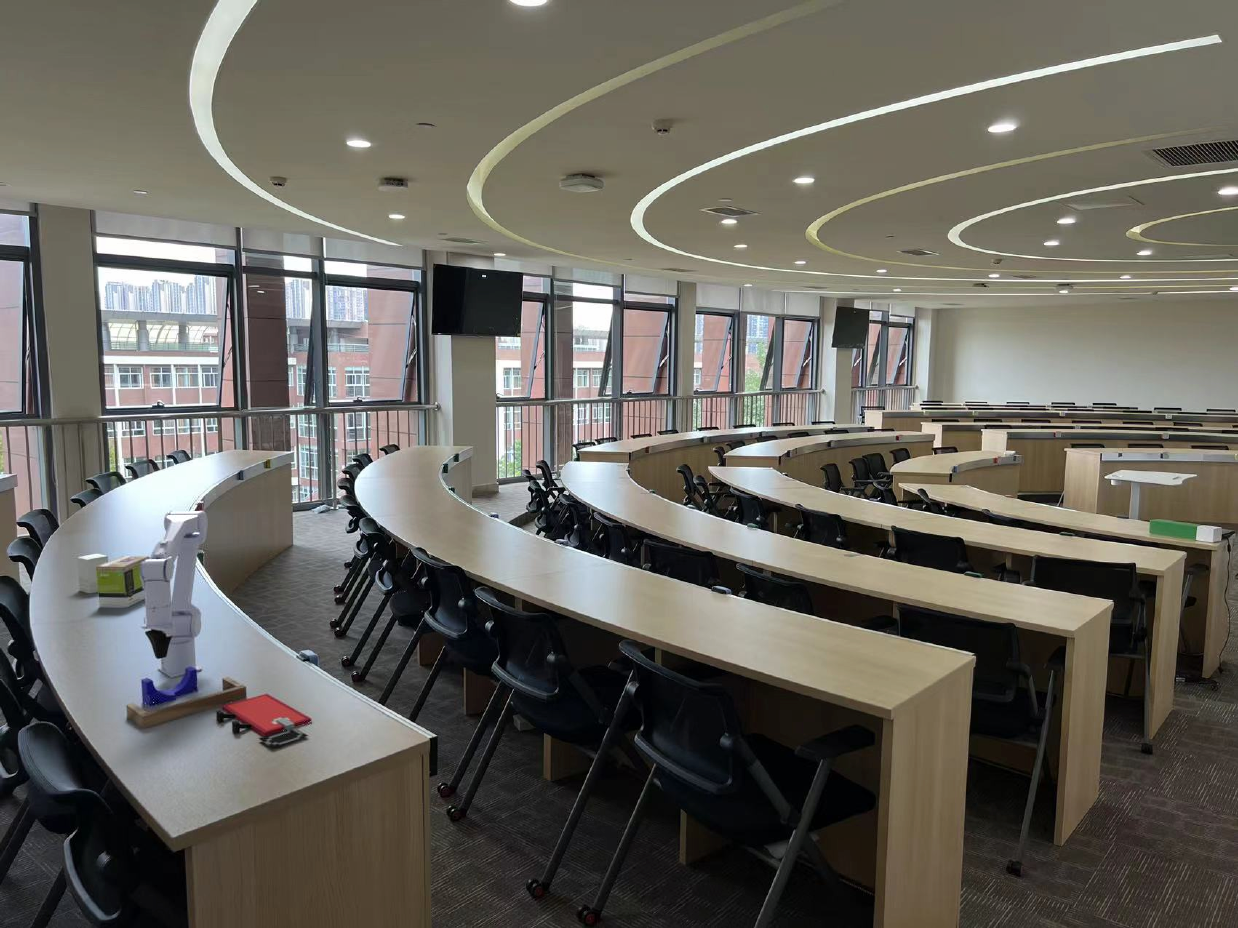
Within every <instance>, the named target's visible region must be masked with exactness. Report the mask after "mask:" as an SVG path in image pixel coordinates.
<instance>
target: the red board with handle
mask: <svg viewBox="0 0 1238 928" xmlns="http://www.w3.org/2000/svg"><path fill="white" fill-rule="evenodd" d="M222 709H223V710H222ZM224 710H225V711H226V712H225V711H224ZM215 713H216V714H215V716H216V719H215V721H216V722H217V721H218V722H217V723H218V724H222V722H223V723H225V719H236V718H237V719H238V720H237V719H236V720H232V721H231V732H232V733H233V734H234V735H239V734H241V730H242V729H244V730H245V729H247V730H248V729H252V730H253V731H255V732H256V733H258V734H259V735H260V736H262V737H258V739H259V741H262V743H264V744H266V745H267V746H269V747H271V748H274V747H277V746H280V745H284V744H286V743H290V742H292V741H293V742H294V741H296V740H300V739H303V738H305V737H309V735H308V734H306V733H305V732H303V731H301V730H299V729H298V728H297V727H295V726H298V727H300V726H299V725H301V726H303V725H302V724H304V725H307V724H309V723H308V722H310V721H311V722H312V718H311V717H309V716H307V715H306V714H304V713H303V712H300V711H299V710H298V709H295V708H294V707H292V706H290V705H288V704H287V703H284V702H282V701H281V700H279V699H277V698H275V697H273V696H272V695H270V694H269V693H265V694H261V695H257V696H254V697H253V696H252V697H250V698H245V699H242V700H238V701H235V702H232V703H228V704H225V705H222V706H221V710H216V712H215ZM311 722H310V723H311ZM306 723H307V724H306ZM294 727H295V728H294ZM283 730H284V731H283Z"/></svg>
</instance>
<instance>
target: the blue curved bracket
mask: <svg viewBox="0 0 1238 928" xmlns="http://www.w3.org/2000/svg"><path fill="white" fill-rule="evenodd" d="M197 672H198V671H197V669H195V668H193V667H192V666H191V667H187V668H185V674H184V675H183V677H182V679H181V680H180V682H178V684H176V685H175V686H174V687H171V688H169V689H167V690H160V689H157V688H156V686H155V685H154V680H152V679H151V678H149V677H145V678H142V679H140V681H141V682H140V683H141V697H142V701H143V702H145V703H146V704H147V705H146V704H145V703H144V704H145V705H146V706H148V705H149V706H150V708H152V707H155V705H156V706H158V705H162V703H163V704H165V703H164V702H166V703H169V702H172V701H176V700H177V699H176V698H178V697H182V696H185V695H188V694H193V693H196V692H198V691H199V690H198V673H197ZM143 702H142V703H143ZM153 702H154V703H153ZM149 706H148V707H149ZM151 706H152V707H151Z"/></svg>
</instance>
